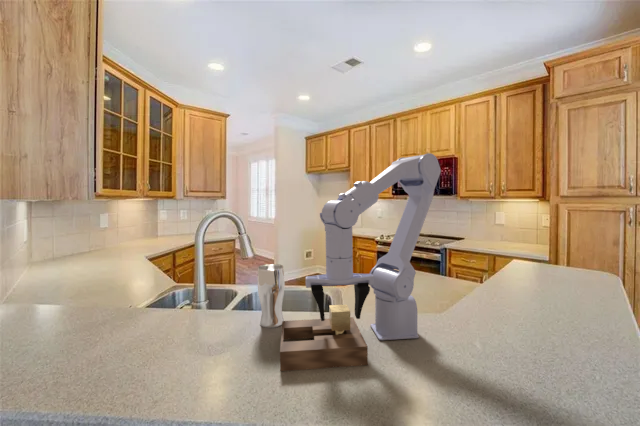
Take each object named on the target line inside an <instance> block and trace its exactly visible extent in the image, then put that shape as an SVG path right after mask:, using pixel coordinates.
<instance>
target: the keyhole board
mask: <svg viewBox="0 0 640 426" xmlns="http://www.w3.org/2000/svg"><path fill="white" fill-rule="evenodd" d="M312 338H313V339H312ZM299 339H307V340H299ZM308 339H309V340H308ZM311 339H312V340H311ZM285 340H293V341H285ZM368 346H369V345H367V343H366V341H365V339H364V337H363V335H362V332H361V331H360V328H359V326H358V325H357V323H356V320H355V318H354V317H353V316H350V330H344V334H343V335H335V331H332V330H331V326H330V323H329V318H325V320H324V321H321V318H315V319H314V318H313V319H298V320H296V319H295V320H284V321H282V325H281V333H280V348H279V366H280V367H279V370H280V371H279V372H284V371H285V372H288V371H289V372H290V371H302V370H303V371H304V370H314V369H315V370H316V369H331V368H347V367H361V366H363V367H364V366H369V365H368V364H369V362H368V360H369V359H368V355H369V354H368V352H369V351H368V349H369V348H368Z"/></svg>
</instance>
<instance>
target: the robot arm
mask: <svg viewBox="0 0 640 426" xmlns="http://www.w3.org/2000/svg"><path fill="white" fill-rule="evenodd" d="M440 166H441V165H440V163H439V160H438V158H437V157H436V155H435V154H433V153H429V152H428V153H425V154H419V155H413V156H406V157H399V158H398V159H397V160H394V161H392V162H391V164H390V166H388V167H387V168H385V169H384V170H383V171H382V172H380V173H379V174H378V175H377V176H376V177H374V178H373V179H372V180H371V181H367V180H362V181H355V182H354V183H353V187H352V188H350V189H348V190H347V191H345V192H341V193H340V194H338V197H337V199H332V200H327V202H325V204H323V207H322V208H321V212H320V213H319V217H320V220H321V222H322V223H323V225H324V232H325V270H326V271H325V274H317V275H309V276H305V288H307V289H309V288H310V289H311V294H312V295H313V298H314V300H315V302H316V305H317V307H318V309H319V319H321V321H324V320H325V319H326V318H325V317H326V316H325V308H324V307H325V306H324V305H325V304H324V302H325V301H324V299H325V292H324V287H333V286H354V287H353V288H354V289H353V290H354V316H355V318H356V319H357V320H360V319H361V314H362V310H363V306H364V304H365V301H366V300H367V297H368V296H369V294H370V292H371V288H372V290H373V295H375V299H374V300H375V301H374V302H375V304H374V305H375V307H374V308H375V311H374V313H375V315H374V316H375V318H374V319H375V322H374V323H370V327H371V329H372V331H373V332H374V334H375V336H376V337H377V339H378V341H390V340H391V341H392V340H406V339H407V340H408V339H409V340H411V339H419V334H418V305H417V301H416V299H415V297H414V296H413V295H412V293H413V290H414V287H415V285H414V284H415V283H414V281H415V276H416V273H417V271H416V270H415V267H414V266H413V265H412V263H411V259H412V257H413V253H414V251H415V248H416V245H417V242H418V239H419V237H420V235H421V232H422V228H423V226H424V223H425V221H426V218H427V215H428V212H429V210H430V207H431V205H432V202H433V198H434V194H435V193H434V192H435V189H436V186H437V183H438V181H439V178H440V175H441V172H442V169H441V167H440ZM396 183H399V185H400V186H401V187H402V189H403V190H404V192H405V193H407V194H408V200H407V202H406V205H405V208H404V210H403V212H402V215H401V218H400V220H399V223H398V226H397V228H396V231H395V234H394V236H393V239H392V240H391V241H392V242H391V244H390V246H389V250H388V252H387V253H386V254H384V255H383V256H381V257H380V258H378V259H377V261H376V264H375V265H374V267H372V268H371V270H370V271H369V273H358V272H357V273H354V267H353V266H354V262H353V261H354V260H353V259H354V258H353V250H354V249H353V245H354V244H353V226H355V225H356V224H357V222H358V220H359V216H360V215H361V214H363V213H364V212H365V211H367V210H368V209H369V208H371V207H372V206H373V205H375V204H376V203H377V202H378V200H379V196H380V195H379V194H381V193H383V192H384V191H386V190H387V189H389V188H390V187H392V186H393V185H395V184H396Z"/></svg>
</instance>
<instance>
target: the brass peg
mask: <svg viewBox="0 0 640 426" xmlns="http://www.w3.org/2000/svg"><path fill="white" fill-rule="evenodd" d="M328 307H329V308H328V310H329V315H328V316H329V318H328V319H329V323H330V326H331V330H332V331H335V335H343V334H344V330H350V317H351V309H350V308H349V306H348V304H331V305H330V304H329V306H328Z"/></svg>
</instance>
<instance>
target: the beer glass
mask: <svg viewBox="0 0 640 426" xmlns="http://www.w3.org/2000/svg"><path fill="white" fill-rule="evenodd" d="M285 283H286V282H285V270H284V265H282V264H278V263H269V264H262V265H259V266H258V267H257V292H258V297H259V303H260V307H261V314H260V315H261V316H260V322H259V324H260V326H261V327H263V328H266V329H272V328H273V329H274V328H275V329H276V328H278V327H280V326H281V327H282V321H285V320H284V315H283V301H284V295H285V285H286V284H285Z"/></svg>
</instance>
